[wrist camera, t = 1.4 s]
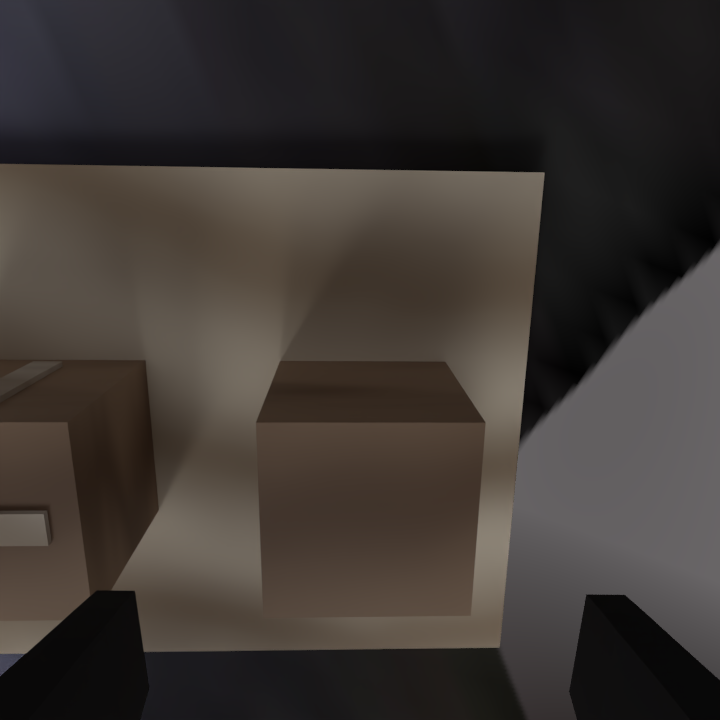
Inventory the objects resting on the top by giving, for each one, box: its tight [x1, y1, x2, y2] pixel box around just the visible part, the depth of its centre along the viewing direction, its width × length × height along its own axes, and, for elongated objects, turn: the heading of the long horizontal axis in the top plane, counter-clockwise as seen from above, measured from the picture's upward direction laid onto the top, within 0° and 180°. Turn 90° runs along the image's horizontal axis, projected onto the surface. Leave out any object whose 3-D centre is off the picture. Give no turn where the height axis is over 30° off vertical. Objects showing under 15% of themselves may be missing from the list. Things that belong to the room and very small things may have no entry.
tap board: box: [0, 164, 545, 654], centre depth 18 cm, size 16×28×1 cm, turn 89°
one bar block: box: [0, 360, 159, 621], centre depth 15 cm, size 5×5×5 cm
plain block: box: [256, 361, 486, 618], centre depth 15 cm, size 5×5×5 cm
